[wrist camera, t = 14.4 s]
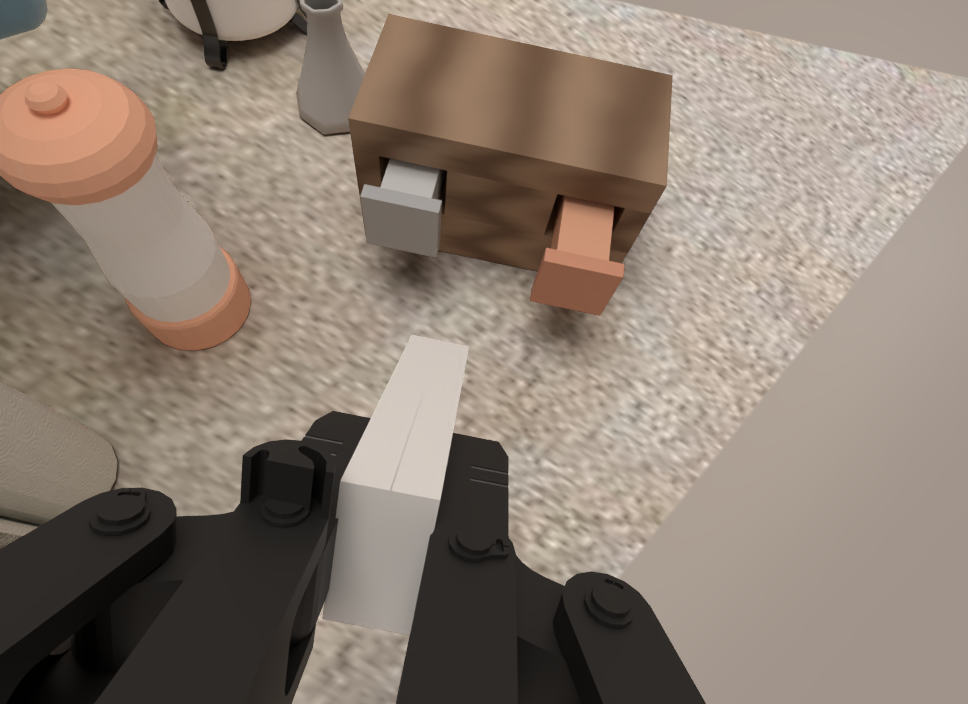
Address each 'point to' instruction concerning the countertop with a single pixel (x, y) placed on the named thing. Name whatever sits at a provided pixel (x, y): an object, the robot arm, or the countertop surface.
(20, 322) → the countertop surface
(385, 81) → the block
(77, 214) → the salt shaker
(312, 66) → the flask
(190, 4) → the coffee press
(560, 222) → the plug terracotta
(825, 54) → the countertop surface
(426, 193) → the plug grey
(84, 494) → the paper towel roll
